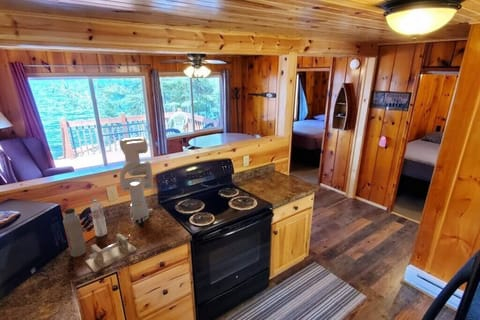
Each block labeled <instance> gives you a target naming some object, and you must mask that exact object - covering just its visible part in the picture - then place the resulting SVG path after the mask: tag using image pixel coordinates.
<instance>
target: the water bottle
mask: <svg viewBox="0 0 480 320" xmlns="http://www.w3.org/2000/svg"><path fill="white" fill-rule="evenodd" d="M90 212H91V217H92V223H93V229H94V233H95V236H96V237H99V238H101V237H104V236H106V235H107V234H108V230H107V223H106V222H107V221H106V217H105V214H104V209H103V204H102V203H101V202H99V201H98V199H93V203H92V204H91V205H90Z"/></svg>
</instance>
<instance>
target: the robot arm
mask: <svg viewBox="0 0 480 320" xmlns="http://www.w3.org/2000/svg"><path fill="white" fill-rule="evenodd" d="M119 146H120V150H121V151H122V153H123V154H124V159H125V164H124V165H123V166H122V168H121V170H120V172H119V183H120V188H121V190H123V191H128V193H129V197H130V204H129V205H130V206H129V217H130V220H131V222H132V223H136V222H137V224H138V225H137V226H138V227H139V228H141V229H142V228H144V227H145V221H146V220H148V219H149V218H150V213H152V212H153V211H154V210H153V208H150V209H149V207H148V204H147V201H146V199H147V196H146V195H145V192H144V190H151V189H152V188H154V183H155V182H154V178H153V171H152V165H151V163H150V162H149V161H146V160H145V161H141V160H140V154H146V153H148V150H149V146H148V142H147V140H146V138H145V137H144V136H143V137H142V136H140V137H126V138H122V139H121V140H119ZM127 173H128V175H129V176H131V177H127V178H126V177H125V176H126V174H127ZM143 175H145V176H143Z"/></svg>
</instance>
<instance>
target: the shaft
mask: <svg viewBox="0 0 480 320" xmlns="http://www.w3.org/2000/svg"><path fill="white" fill-rule="evenodd" d="M126 238H127V242H128V243H132V242H133V241H134V237H133V235H132V234H131V233H130V234H127V235H126ZM121 244H122V241H118V242H117V241H116V242H115V243H112V244H110V245H108V246H106V247H103V248H100V249H101V250H102V253H105V252H107V251H109V250H111V249H113V248H115V247H117V246H119V245H121ZM88 257H89V259H92V258H95V257H97V253H96V252H95V253H93V252H92V253H91V254H89V255H88Z"/></svg>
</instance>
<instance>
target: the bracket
mask: <svg viewBox="0 0 480 320" xmlns="http://www.w3.org/2000/svg"><path fill="white" fill-rule="evenodd" d="M115 236H116V242H118V241H122V244H121V245H119V246H117V247H115V248H113V249H111V250H109V251H107V252H105V253H102V250H101V249H102V248H100V247H99V246H97V244H96V243H95V244H92V245H91V251H92V254H93V253H95V252H96V253H97V257H95V258H92V259H90V258H89V259H86V260H85V262H84V263H86V265H87V266H88V267H89V269H91V270H92V271H93V273H96V272H98V271H100V270H102V269H104V268H105V267H107V266H109V265H111V264H113V263H115V262H117V261H119V260H121V259H123V258H124V257H126V256H128V255H131V254H133V253H134V252H136V251H137V248H136V247H135V245H133V244H131V242H129V241H128V242H127V237H125V236H124V235H123V234H121V233H117V234H115Z"/></svg>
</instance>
